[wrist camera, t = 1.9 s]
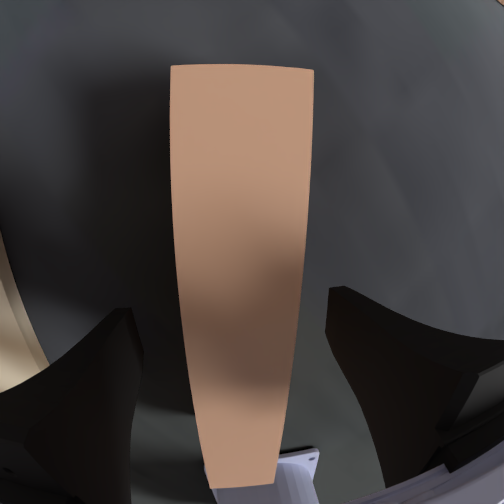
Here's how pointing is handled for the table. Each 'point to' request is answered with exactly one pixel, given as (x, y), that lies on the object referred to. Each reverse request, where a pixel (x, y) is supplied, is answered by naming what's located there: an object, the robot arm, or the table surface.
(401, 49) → the table surface
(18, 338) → the birch rack
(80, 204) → the table surface
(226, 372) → the clay strip
